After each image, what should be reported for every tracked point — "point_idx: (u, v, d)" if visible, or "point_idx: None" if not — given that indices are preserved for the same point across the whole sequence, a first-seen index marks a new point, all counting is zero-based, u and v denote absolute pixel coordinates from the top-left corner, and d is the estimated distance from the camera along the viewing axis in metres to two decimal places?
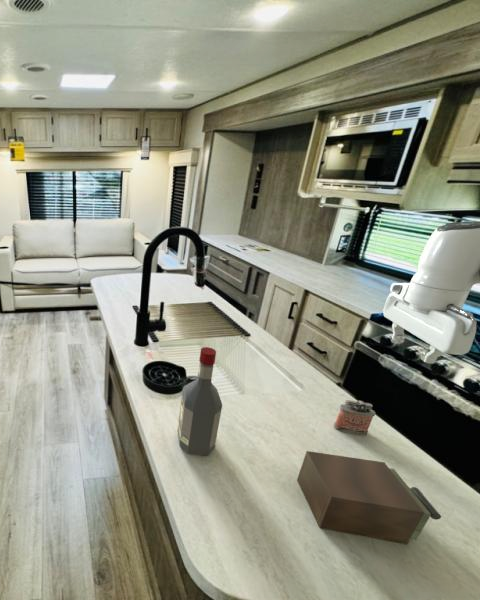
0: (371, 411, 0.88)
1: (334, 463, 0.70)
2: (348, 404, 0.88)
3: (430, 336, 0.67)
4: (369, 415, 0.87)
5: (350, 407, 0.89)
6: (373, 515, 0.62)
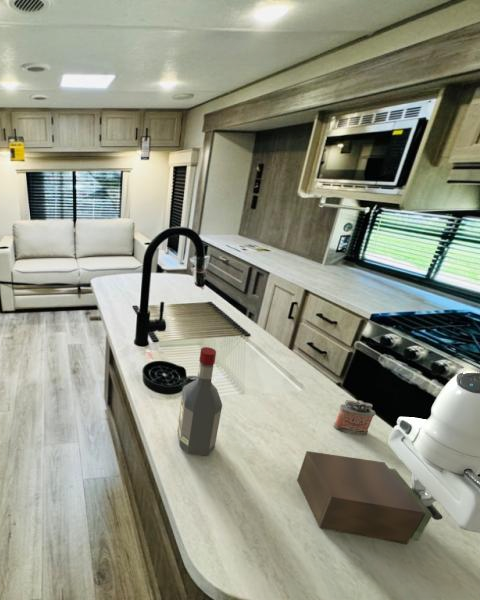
0: (371, 411, 0.88)
1: (334, 463, 0.70)
2: (348, 404, 0.88)
3: (443, 499, 0.58)
4: (369, 415, 0.87)
5: (350, 407, 0.89)
6: (373, 515, 0.62)
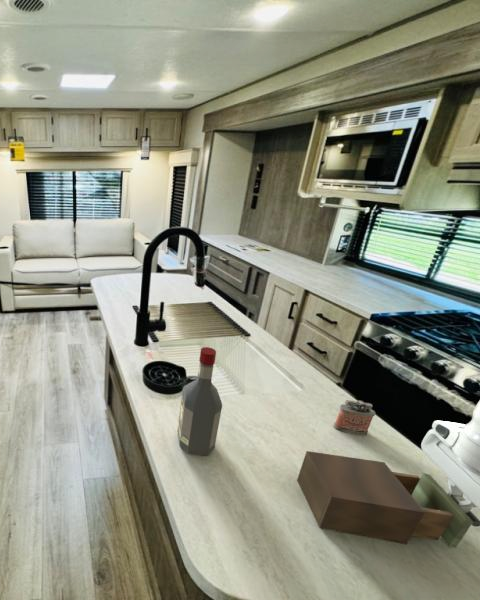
0: (371, 411, 0.88)
1: (334, 463, 0.70)
2: (348, 404, 0.88)
3: None
4: (369, 415, 0.87)
5: (350, 407, 0.89)
6: (373, 515, 0.62)
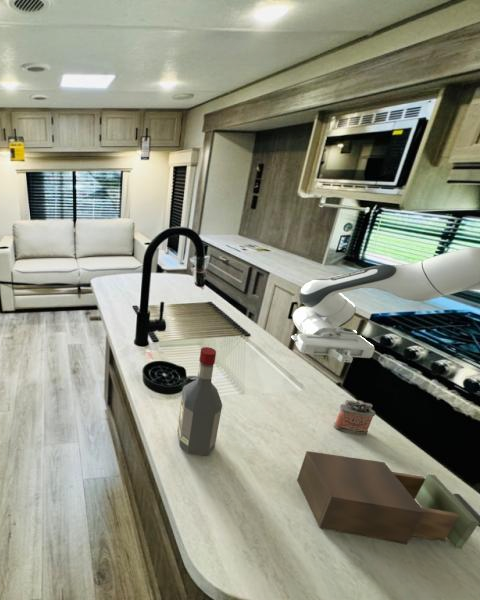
0: (371, 411, 0.88)
1: (334, 463, 0.70)
2: (348, 404, 0.88)
3: None
4: (369, 415, 0.87)
5: (350, 407, 0.89)
6: (373, 515, 0.62)
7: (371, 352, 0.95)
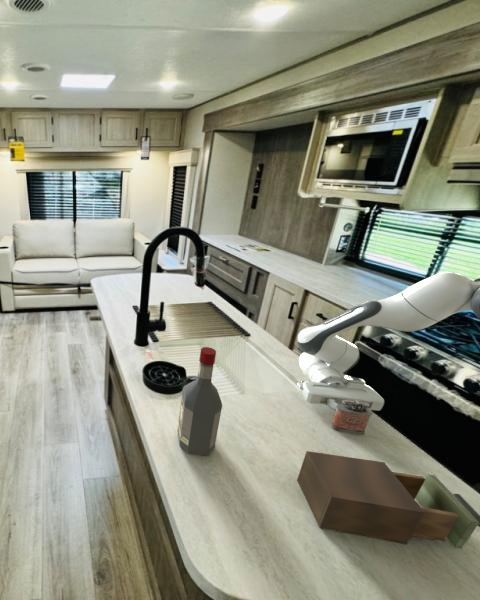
0: (368, 410, 0.88)
1: (334, 463, 0.70)
2: (345, 404, 0.88)
3: None
4: (366, 415, 0.87)
5: (347, 407, 0.89)
6: (373, 515, 0.62)
7: (381, 405, 0.92)
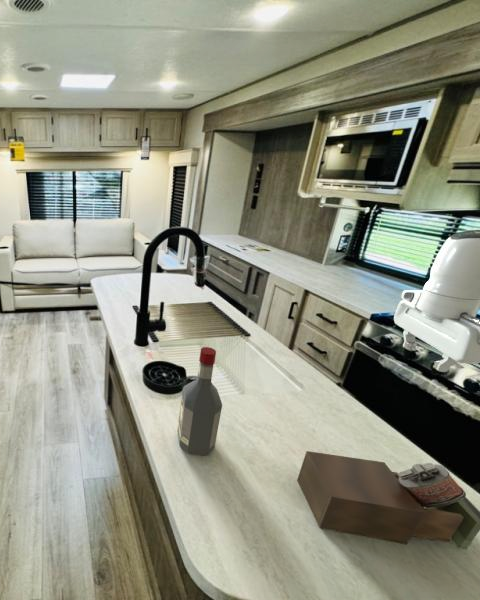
0: (441, 470, 0.61)
1: (334, 463, 0.70)
2: (404, 479, 0.63)
3: (443, 344, 0.67)
4: (442, 479, 0.61)
5: (411, 479, 0.63)
6: (373, 515, 0.62)
7: None
